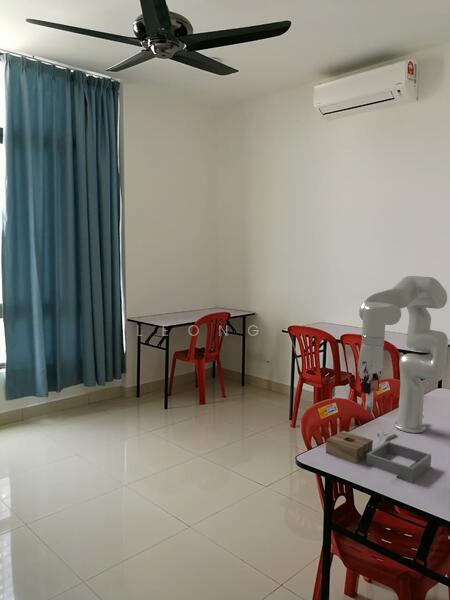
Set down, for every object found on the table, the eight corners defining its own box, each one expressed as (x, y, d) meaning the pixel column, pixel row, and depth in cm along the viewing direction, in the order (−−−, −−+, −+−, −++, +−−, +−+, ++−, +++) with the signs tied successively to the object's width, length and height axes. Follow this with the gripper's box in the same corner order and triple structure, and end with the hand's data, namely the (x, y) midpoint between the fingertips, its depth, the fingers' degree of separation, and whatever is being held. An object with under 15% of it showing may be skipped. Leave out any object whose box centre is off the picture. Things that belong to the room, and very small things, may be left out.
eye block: (342, 445, 183) (343, 430, 182) (371, 455, 175) (372, 440, 174) (325, 455, 174) (326, 439, 174) (355, 466, 166) (356, 449, 165)
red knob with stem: (365, 406, 173) (367, 376, 172) (379, 410, 170) (381, 380, 168) (358, 409, 170) (360, 379, 168) (372, 413, 166) (373, 382, 165)
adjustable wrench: (379, 457, 175) (379, 453, 175) (361, 453, 178) (361, 448, 178) (396, 435, 196) (396, 431, 195) (380, 431, 199) (380, 427, 199)
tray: (386, 452, 178) (387, 441, 177) (430, 467, 167) (431, 454, 166) (365, 466, 166) (366, 453, 166) (411, 482, 155) (412, 469, 155)
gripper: (375, 336, 175) (372, 384, 178) (350, 342, 163) (347, 394, 166) (394, 339, 170) (391, 389, 172) (370, 345, 158) (367, 399, 160)
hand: (370, 390), depth 169 cm, fingers closed on red knob with stem, 5 cm apart
